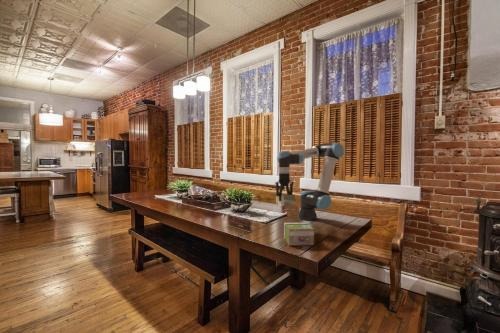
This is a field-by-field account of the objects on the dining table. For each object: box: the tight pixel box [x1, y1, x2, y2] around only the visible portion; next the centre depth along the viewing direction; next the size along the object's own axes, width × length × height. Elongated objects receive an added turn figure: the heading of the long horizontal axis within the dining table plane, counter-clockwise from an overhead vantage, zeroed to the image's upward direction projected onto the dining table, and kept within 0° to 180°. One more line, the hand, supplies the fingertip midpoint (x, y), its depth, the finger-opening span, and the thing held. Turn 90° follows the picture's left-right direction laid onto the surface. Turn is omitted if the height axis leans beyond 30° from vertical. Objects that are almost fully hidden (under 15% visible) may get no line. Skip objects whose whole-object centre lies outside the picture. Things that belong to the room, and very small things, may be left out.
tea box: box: [283, 222, 315, 247], centre depth 151 cm, size 15×10×15 cm
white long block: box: [275, 194, 297, 207], centre depth 179 cm, size 24×8×7 cm, turn 12°
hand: (284, 205), depth 178 cm, fingers closed on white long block, 4 cm apart
